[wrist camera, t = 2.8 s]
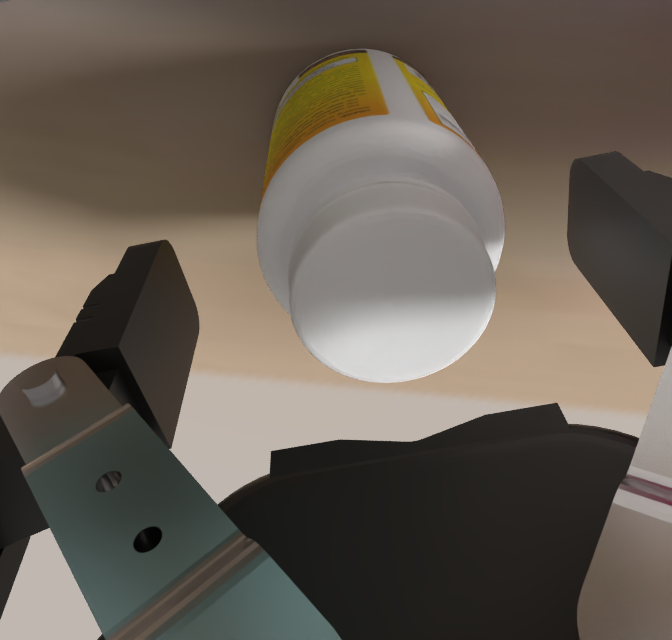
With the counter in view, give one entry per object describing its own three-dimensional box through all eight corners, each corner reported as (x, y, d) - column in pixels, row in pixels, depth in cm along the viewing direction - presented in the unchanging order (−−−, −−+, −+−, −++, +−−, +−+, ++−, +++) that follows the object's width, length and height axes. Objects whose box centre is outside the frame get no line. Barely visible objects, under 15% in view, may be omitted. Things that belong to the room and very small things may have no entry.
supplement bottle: (256, 190, 20) (218, 384, 12) (297, 19, 17) (284, 120, 9) (406, 230, 22) (467, 434, 13) (469, 75, 19) (600, 212, 10)
